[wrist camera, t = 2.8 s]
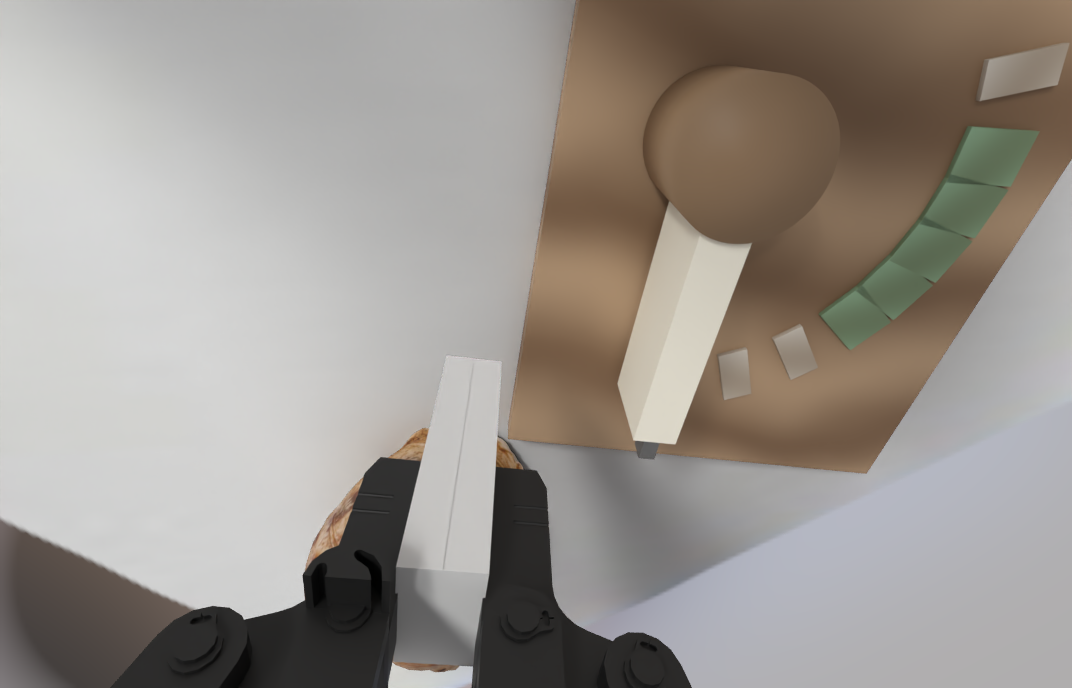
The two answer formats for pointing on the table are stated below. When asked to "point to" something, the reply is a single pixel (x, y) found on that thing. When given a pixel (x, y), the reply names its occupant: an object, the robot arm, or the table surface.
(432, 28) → the table surface
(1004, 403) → the table surface
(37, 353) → the table surface
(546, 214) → the dial board
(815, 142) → the lever
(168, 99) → the table surface
